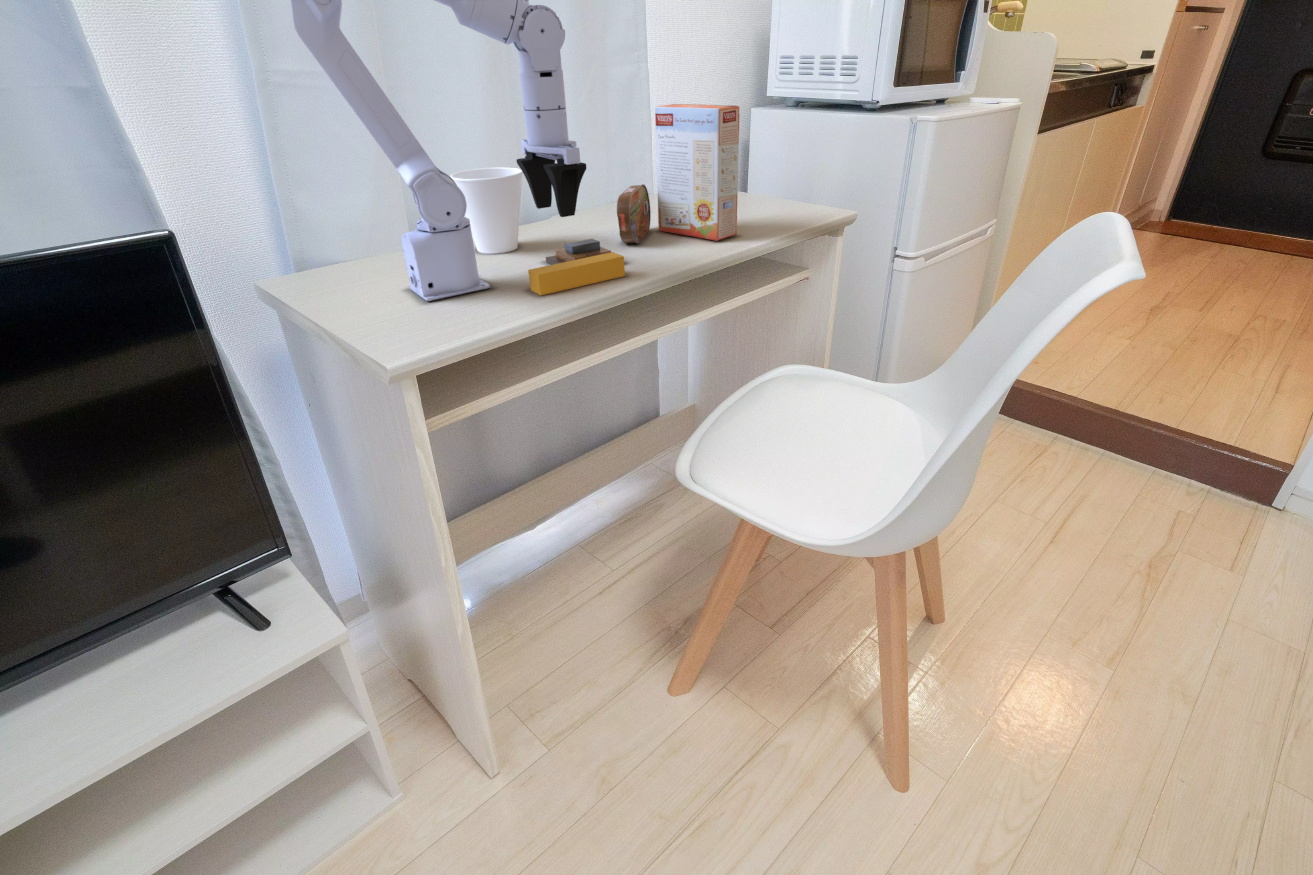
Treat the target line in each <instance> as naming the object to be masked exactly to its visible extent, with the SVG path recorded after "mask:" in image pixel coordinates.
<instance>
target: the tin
mask: <svg viewBox="0 0 1313 875" xmlns="http://www.w3.org/2000/svg"><path fill="white" fill-rule="evenodd" d="M616 201H617V202H616V215H617V216H616V217H617V222H618V223H617V224H618V230H619V231H618V234H619V237H620V240H621V241H622V243H624V244H640V243H641V241H642V240H643V239H644V238H645V236H646V235H647V234H648V233H649V232H650V228H651V219H652V218H651V201H650V196H649V191H648V188H647V186H646V185H645V184H639V185H638V184H637V185H636V184H635V185H631V186H629V187H628V188H627V189H626V190H624V191H623V192H622V193H621V194H620V195H619V196H618V199H617V200H616Z"/></svg>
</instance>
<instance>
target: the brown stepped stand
mask: <svg viewBox="0 0 1313 875" xmlns="http://www.w3.org/2000/svg"><path fill="white" fill-rule="evenodd" d="M611 252H612V250H611V249H608V248H605V247H603V246H601V241H600V240H597V239H595V238H588V239H583V240H578V241H573V242H568V243H564V247H563V248H557V249H555V255H554V254H553V255H550V256H546V257H545V262H546V263H547V264H549V265H553V264H558V263H563V262H568V261H573V260H577V259H582V258H587V257H592V256H596V255H601V254H606V253H611Z"/></svg>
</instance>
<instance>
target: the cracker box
mask: <svg viewBox="0 0 1313 875" xmlns="http://www.w3.org/2000/svg"><path fill="white" fill-rule="evenodd" d="M654 108H655V109H654V112H655V113H654V115H655V120H654V121H655V143H656V144H655V147H656V149H655V150H656V178H657V179H656V183H657V185H656V187H657V222H658V231H660V232H664V233H672V234H677V235H682V236H689V237H693V238H699V239H704V240H709V241H714V242H717V241H721V240H724V239H728V238H732V237H734V236H737V233H738V232H737V230H738V193H739V191H738V190H739V154H740V153H739V147H740V105H736V104H735V105H727V104H726V105H725V104H724V105H723V104H722V105H721V104H701V103H698V104H697V103H671V104H664V105H657V106H655V107H654Z"/></svg>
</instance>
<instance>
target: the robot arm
mask: <svg viewBox="0 0 1313 875" xmlns="http://www.w3.org/2000/svg"><path fill="white" fill-rule="evenodd" d="M433 1H434V2H437V3H438V4H442V5H445V6H447V7H449V8H450V9H451V10H452V12H453V13H454V15H455V17H456V20H457V22H458V23H459V25H461V26H464V27H467V29H468V28H469V29H471V30H473V31H475V32H478V33H480V34H482V35H483V36H487V37H488V38H491V39H494V40H496V41H498V42H501V43H502V44H505V45H510V44H513V47H514V48H515V49H516V51H518V61H519V78H520V87H521V97H522V106H523V115H524V123H525V132H526V133H525V134H526V139H521V140H520V146H521V154H522V155H524V157H522V158H521V157H520V158H516V164H517V166H518V167H519V169H521V170H522V172H523V174H522V175H523V176H524V178H525V179H526V182H527V184H528V188H529V189H530V193H531V196H532V199H533V202H534V204H535V207H536V209H538V210H541V209H546V208H551V207H552V201H553V194H554V199H555V204H556V209H557V213H558V214H559V217H561V218H567V217H572V216H575V214H576V210H577V209H576V208H577V202H578V195H579V190H580V186H581V183H582V180H583V177H584V175H585V173H586V171H587V163H585V162H581V154H580V153H581V152H580V147H577V141H576V140H570V139H569V129H568V128H569V127H568V117H567V116H568V115H567V103H566V92H565V81H564V80H565V79H564V70H563V68H562V57H561V49H562V48H563V45H564V44H565V40H566V39H565V38H566V30H565V29H564V28H563V24H562V21H561V19H560V17H559V16H557V13H556V12H555V11H554V10H553V9H551V7H548V6H546V5H543V4H535V5H532V4H530V3H529V2H530V1H529V0H433ZM290 6H291V14H292V20H293V27H294V30H295V32H296V33H297V35H298V37H299V39H300V40H301V41H302V43H303V44H304V46H305V47H306V48H307V49H308V51H309V52H310V54H311V55H312V57H314V59H315V61H317V63H318V64H319V66H320V67H321V69H322V71H324V72H325V74H326V75H327V76H328V78H329V80H330V81H331V82H332V83H333V85H334V86H335V88H336V89H337V90H338V91H339V93H340V94H341V96H342V97H343V99H344V100H345V101H346V102H347V104H348V106H350V108H351V109H352V111H353V112H354V113H355V115H356V116H357V117H358V119H359V121H360V122H361V123H362V124H363V125H364V127H365V128H366V130H367V131H368V133H369V134H370V135H371V137H372V138H373V140H374V141H375V142H376V144H378V146H379V147H380V148H381V150H382V151H383V153H384V154H385V156H386V157H387V158H388V160H389V162H391V164H392V165H393V166H394V168H395V169H396V170H397V172H398V174H399V175H400V176H401V178H402V180H403V181H404V182H405V184H406V185H407V187H408V188H409V190H410V191H411V192H412V197H413V200H414V203H415V205H416V208H417V211H418V214H419V215H420V217H419V219H418V221H416V222H415V225H416V228H415V229H414V230H411V231H407V232H404V233H402V234H401V248H402V253H403V257H404V262H405V267H406V271H407V277H408V281H409V285H408V286H409V289H410V290H411V291H413V292H414V294H416V295H417V296H419V297H421V298H422V300H425V301H426V302H431V301H435V300H440V299H445V298H450V297H454V296H459V295H463V294H467V293H468V294H469V293H472V292H477V291H483V290H486V289H490V288H491V284H490V283H489V282H487V281H486V280H485V281H484V280H483V279H481V278H480V275H479V270H478V264H477V257H476V256H477V255H476V253H475V252H476V251H475V250H476V249H475V243H474V239H473V236H472V232H471V226H470V220H469V219H468V218H466V217H465V213H466V208H467V204H466V199H465V196H464V194H463V192H462V191H461V189H460V188H459V187H458V186H457V185H456V183H455V182H454V180H453V179H452V178H451V177H450V174H447V173H445V172H444V171H442V170H441V169H439V167H437V166H436V164H435V163H434V162H433V160H432V159H431V157H430V156H429V155H428V153H427V152H426V150H425V149H424V148H423V145H421V143H420V142H419V140H418V139H417V138H416V136H415V134H414V133H413V132H412V130H411V129H410V127H409V126H408V125H407V123H406V121H405V120H404V119H403V117H402V116H401V114H400V113H399V112H398V110H397V109H396V107H395V106H394V104H393V103H392V102H391V100H390V99H389V97H388V96H387V95H386V93H385V92H384V90H383V89H382V87H381V86H380V84H379V83H378V82H377V80H376V79H375V77H374V76H373V74H372V73H371V72H370V70H369V69H368V68H367V66H366V65H365V63H364V62H363V60H362V59H361V57H360V56H359V54H358V53H357V51H356V50H355V49H354V47H353V46H352V44H351V43H350V41H348V39H347V37H346V36H345V35H344V33H343V31H342V29H341V26H340V25H341V17H342V8H343V0H290Z"/></svg>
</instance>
